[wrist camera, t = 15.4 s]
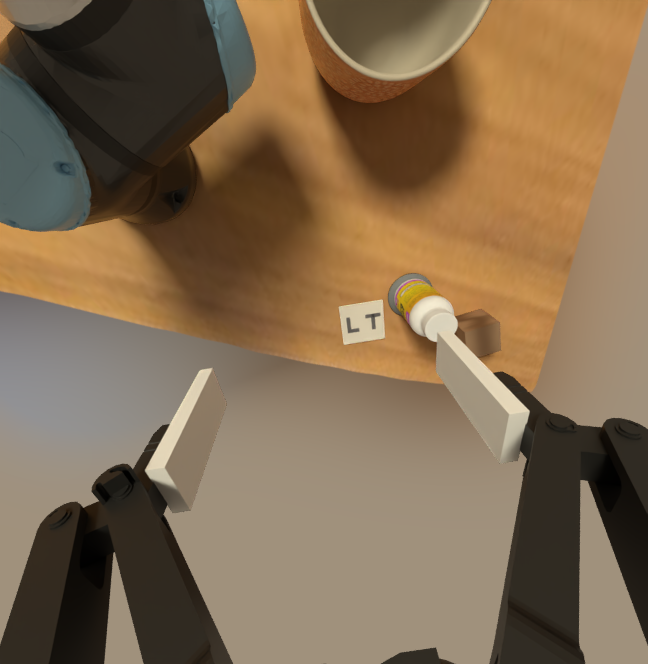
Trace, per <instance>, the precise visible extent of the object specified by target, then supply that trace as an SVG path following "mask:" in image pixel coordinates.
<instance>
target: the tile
mask: <svg viewBox="0 0 648 664" xmlns="http://www.w3.org/2000/svg"><path fill="white" fill-rule="evenodd" d="M339 312H340V320H341V327H342V335H343V342H344V345H346V344H352V343H358V342H365V341H371V340H377V339H384V338H385V330H384V313H383V299H382V300H376V301H370V302H364V303H357V304H351V305H345V306H339Z"/></svg>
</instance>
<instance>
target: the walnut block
mask: <svg viewBox="0 0 648 664" xmlns="http://www.w3.org/2000/svg"><path fill="white" fill-rule="evenodd" d="M455 318H456V319H457V322H458V326H457V330H456V332H455V333H454V334H455V335H456V336H457V337H458V338H459V339H460V340H461V341H462V342H463V343H464V344H465V345H466V346H467V347H468V349H469V350H470V351H471V352H472V353H473V354H474V355H475V356H476V357H477V358H478V357H481V356H484V355H488V354H491V353H495V352H498V351H501V337H500V322H499V321H498V320H496V319H495V318H494V317H492V316H491V315H489V314H488V313H487V312H485V311H484V310H482V309H478V310H475V311H472V312H469V313H465V314H462V315H459V316H456V317H455Z"/></svg>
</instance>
